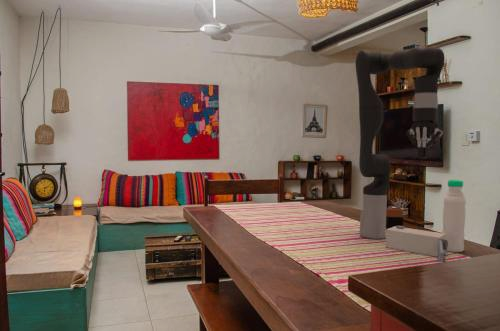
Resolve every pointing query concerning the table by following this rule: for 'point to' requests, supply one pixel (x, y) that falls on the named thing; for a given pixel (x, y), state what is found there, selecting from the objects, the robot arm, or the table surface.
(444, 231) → the water bottle
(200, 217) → the table surface
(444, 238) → the housing
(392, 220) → the battery
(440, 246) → the side door
